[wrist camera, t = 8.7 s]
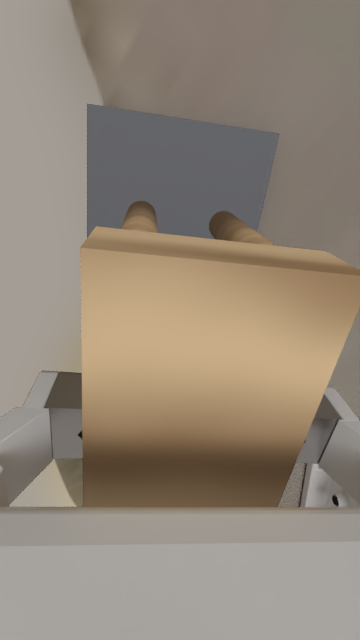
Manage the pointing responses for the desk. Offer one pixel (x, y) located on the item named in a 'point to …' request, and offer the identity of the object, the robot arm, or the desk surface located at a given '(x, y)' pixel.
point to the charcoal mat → (174, 170)
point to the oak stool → (203, 361)
